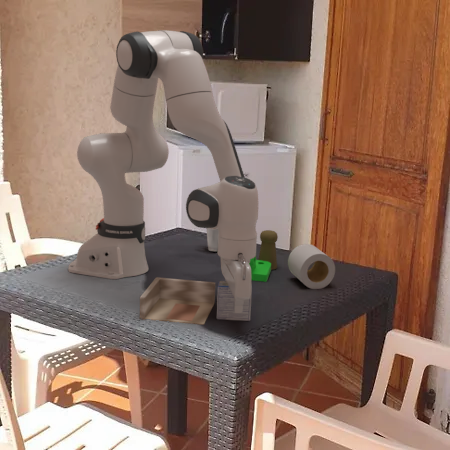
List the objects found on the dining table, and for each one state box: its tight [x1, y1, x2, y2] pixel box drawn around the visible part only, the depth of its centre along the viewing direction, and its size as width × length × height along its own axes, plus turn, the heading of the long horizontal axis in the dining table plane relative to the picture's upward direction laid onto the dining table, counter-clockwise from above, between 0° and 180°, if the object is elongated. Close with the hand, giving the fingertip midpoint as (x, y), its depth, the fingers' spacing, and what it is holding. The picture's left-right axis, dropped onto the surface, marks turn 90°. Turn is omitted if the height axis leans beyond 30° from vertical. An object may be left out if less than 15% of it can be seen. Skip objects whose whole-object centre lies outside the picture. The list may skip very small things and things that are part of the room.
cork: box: [257, 229, 279, 271], centre depth 197 cm, size 6×6×11 cm
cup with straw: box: [205, 228, 219, 252], centre depth 213 cm, size 8×9×20 cm
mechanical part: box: [249, 255, 272, 283], centre depth 190 cm, size 12×6×8 cm, turn 169°
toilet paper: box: [287, 243, 336, 290], centre depth 184 cm, size 10×10×10 cm
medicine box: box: [216, 280, 253, 322], centre depth 156 cm, size 8×4×9 cm, turn 88°
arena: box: [139, 276, 216, 326], centre depth 159 cm, size 15×15×6 cm
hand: (234, 304), depth 156 cm, fingers open, 8 cm apart
